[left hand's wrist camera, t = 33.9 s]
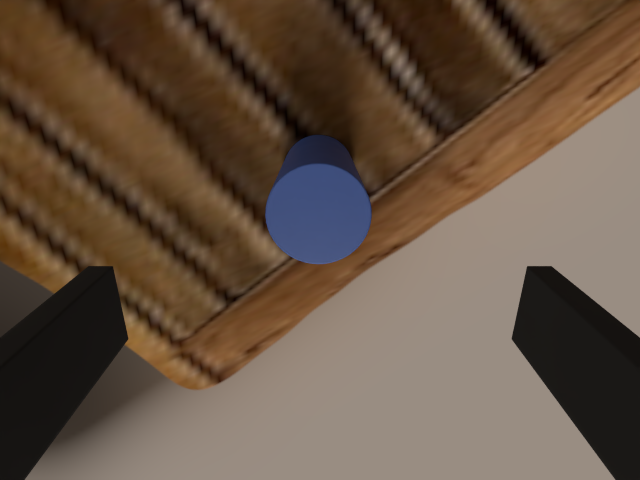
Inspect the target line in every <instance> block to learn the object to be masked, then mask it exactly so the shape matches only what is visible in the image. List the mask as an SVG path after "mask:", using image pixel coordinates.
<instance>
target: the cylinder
mask: <svg viewBox="0 0 640 480" xmlns="http://www.w3.org/2000/svg"><path fill="white" fill-rule="evenodd" d="M266 223H267V227H268V230H269V232H270V235H271V236H272V238H273V240H274V241H275V243H276V244H277V245H278V246H279V247H280V248H281V249H282V250H283V251H284V252H285V253H286V254H288V255H289V256H291V257H293V258H295V259H297V260H299V261H302V262H306V263H311V264H326V263H331V262H335V261H338V260H340V259H342V258H344V257H346V256H348V255H349V254H351V253H352V252H353V251H355V250H356V249H357V248H358V247H359V245H360V244H361V243H362V242H363V240H364V238H365V237H366V235H367V233H368V230H369V227H370V223H371V203H370V200H369V196H368V194H367V192H366V190H365V187H364V185H363V183H362V181H361V178H360V176H359V174H358V172H357V169H356V167H355V165H354V163H353V160H352V158H351V156H350V154H349V152H348V150H347V149H346V148H345V146H344V145H343V144H341V143H340V142H339V141H338V140H336V139H334V138H332V137H329V136H325V135H312V136H308V137H305V138H303V139H301V140H300V141H298V142H297V143H296V144H295V145H293V147H292V148H291V149H290V151H289V152H288V154H287V156H286V158H285V161H284V163H283V165H282V167H281V170H280V172H279V174H278V176H277V178H276V181H275V183H274V185H273V187H272V190H271V192H270V194H269V197H268V200H267V204H266Z"/></svg>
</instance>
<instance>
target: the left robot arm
mask: <svg viewBox="0 0 640 480" xmlns="http://www.w3.org/2000/svg"><path fill="white" fill-rule="evenodd" d="M127 340H128V335H127V330H126V326H125V321H124V316H123V312H122V307H121V302H120V298H119V293H118V288H117V284H116V279H115V274H114V270H113V266H88V267H87V268H86V269H85V270H83V271H82V272H81V273H80V274H78V275H77V276H76V277H75V278H73V279H72V280H71V281H70V282H69V283H67V284H66V285H65V286H64V287H62V288H61V289H60V290H59V291H57V292H56V293H55V294H54V295H52V296H51V297H50V298H49V299H47V300H46V301H45V302H44V303H43V304H41V305H40V306H39V307H38V308H36V309H35V310H34V311H33V312H31V313H30V314H29V315H28V316H26V317H25V318H24V319H23V320H22V321H20V322H19V323H18V324H17V325H15V326H14V327H13V328H12V329H10V330H9V331H8V332H7V333H5V334H4V335H3V336H2V337H0V480H25V478H26V477H27V476H28V474H29V473H30V472H31V470H32V469H33V467H34V466H35V465H36V463H37V462H38V461H39V459H40V458H41V457H42V455H43V454H44V453H45V451H46V450H47V449H48V447H49V446H50V444H51V443H52V442H53V440H54V439H55V438H56V436H57V435H58V434H59V432H60V431H61V430H62V428H63V427H64V426H65V424H66V423H67V421H68V420H69V419H70V417H71V416H72V415H73V413H74V412H75V411H76V409H77V408H78V406H79V405H80V404H81V402H82V401H83V400H84V398H85V397H86V396H87V394H88V393H89V392H90V390H91V389H92V388H93V386H94V385H95V384H96V382H97V381H98V379H99V378H100V377H101V375H102V374H103V373H104V371H105V370H106V369H107V367H108V366H109V364H110V363H111V362H112V360H113V359H114V358H115V356H116V355H117V354H118V352H119V351H120V350H121V348H122V347H123V346H124V344H125V343H126V342H127ZM512 340H513V342H514V343H515V344H516V346H517V347H518V348H519V350H520V351H521V352H522V354H523V355H524V356H525V358H526V359H527V360H528V362H529V363H530V364H531V366H532V367H533V369H534V370H535V371H536V373H537V374H538V375H539V377H540V378H541V379H542V381H543V382H544V384H545V385H546V386H547V388H548V389H549V390H550V392H551V393H552V394H553V396H554V397H555V398H556V400H557V401H558V402H559V404H560V405H561V407H562V408H563V409H564V411H565V412H566V413H567V415H568V416H569V417H570V419H571V420H572V421H573V423H574V424H575V426H576V427H577V428H578V430H579V431H580V432H581V434H582V435H583V436H584V438H585V439H586V440H587V442H588V443H589V444H590V446H591V447H592V449H593V450H594V451H595V453H596V454H597V455H598V457H599V458H600V459H601V461H602V462H603V463H604V465H605V466H606V467H607V469H608V470H609V472H610V473H611V474H612V476H613V477H614V478H615V480H640V338H639V337H638V336H637V335H636V334H634V333H633V332H632V331H631V330H630V329H628V328H627V327H626V326H625V325H623V324H622V323H621V322H620V321H618V320H617V319H616V318H615V317H614V316H612V315H611V314H610V313H609V312H607V311H606V310H605V309H604V308H602V307H601V306H600V305H599V304H597V303H596V302H595V301H594V300H593V299H591V298H590V297H589V296H588V295H586V294H585V293H584V292H583V291H581V290H580V289H579V288H578V287H576V286H575V285H574V284H573V283H571V282H570V281H569V280H568V279H567V278H565V277H564V276H563V275H562V274H560V273H559V272H558V271H557V270H555V269H554V268H553V267H552V266H527V270H526V274H525V279H524V284H523V288H522V293H521V298H520V302H519V307H518V312H517V316H516V321H515V326H514V330H513V335H512Z"/></svg>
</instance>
